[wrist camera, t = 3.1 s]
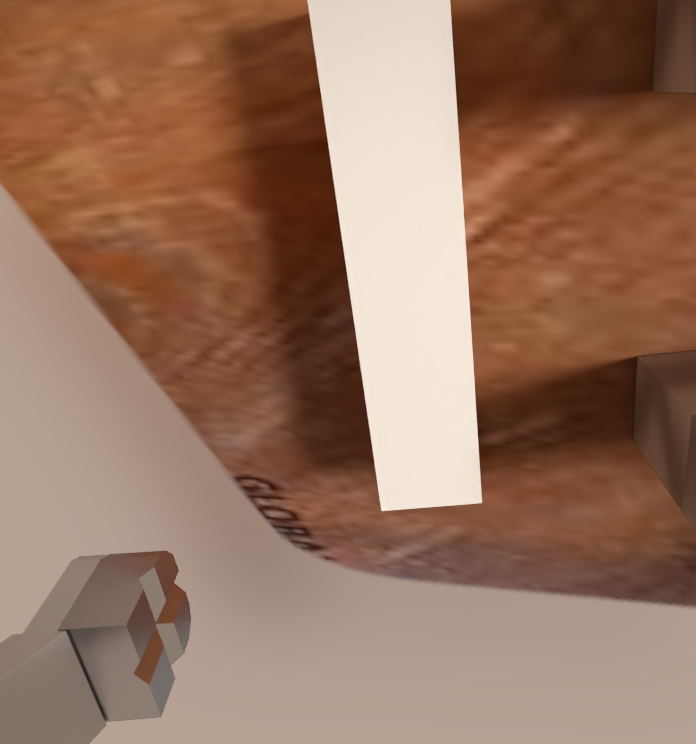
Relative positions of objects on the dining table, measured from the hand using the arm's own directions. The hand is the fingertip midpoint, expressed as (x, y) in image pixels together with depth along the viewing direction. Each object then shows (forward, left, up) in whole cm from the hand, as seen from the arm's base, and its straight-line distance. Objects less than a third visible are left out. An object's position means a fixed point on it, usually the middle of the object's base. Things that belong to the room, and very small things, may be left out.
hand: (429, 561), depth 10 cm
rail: (0, 0, -17) cm, 17 cm away
